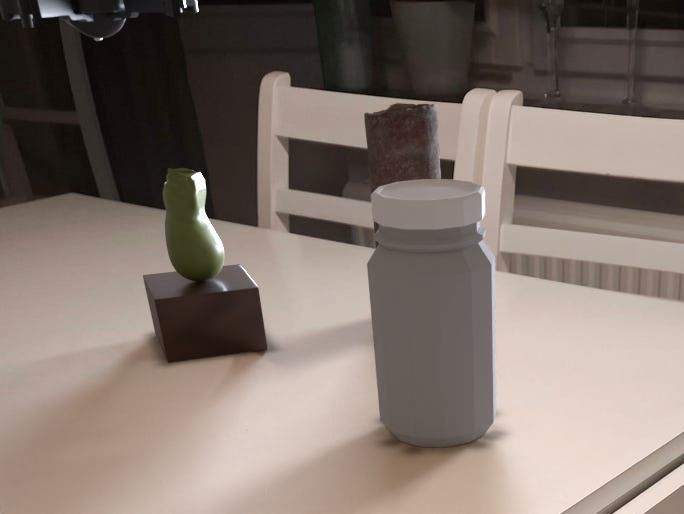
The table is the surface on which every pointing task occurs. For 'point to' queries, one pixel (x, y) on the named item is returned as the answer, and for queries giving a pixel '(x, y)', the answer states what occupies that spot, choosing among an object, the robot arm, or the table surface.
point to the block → (206, 314)
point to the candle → (402, 145)
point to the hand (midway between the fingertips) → (106, 4)
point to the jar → (433, 312)
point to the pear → (190, 227)
